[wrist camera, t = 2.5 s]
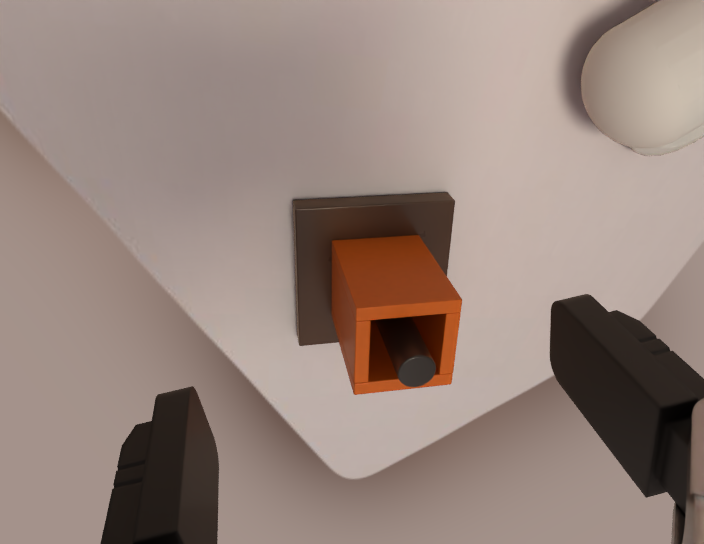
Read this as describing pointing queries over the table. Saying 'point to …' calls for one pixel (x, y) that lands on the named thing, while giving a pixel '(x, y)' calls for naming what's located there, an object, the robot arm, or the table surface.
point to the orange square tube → (391, 307)
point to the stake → (358, 223)
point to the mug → (649, 79)
